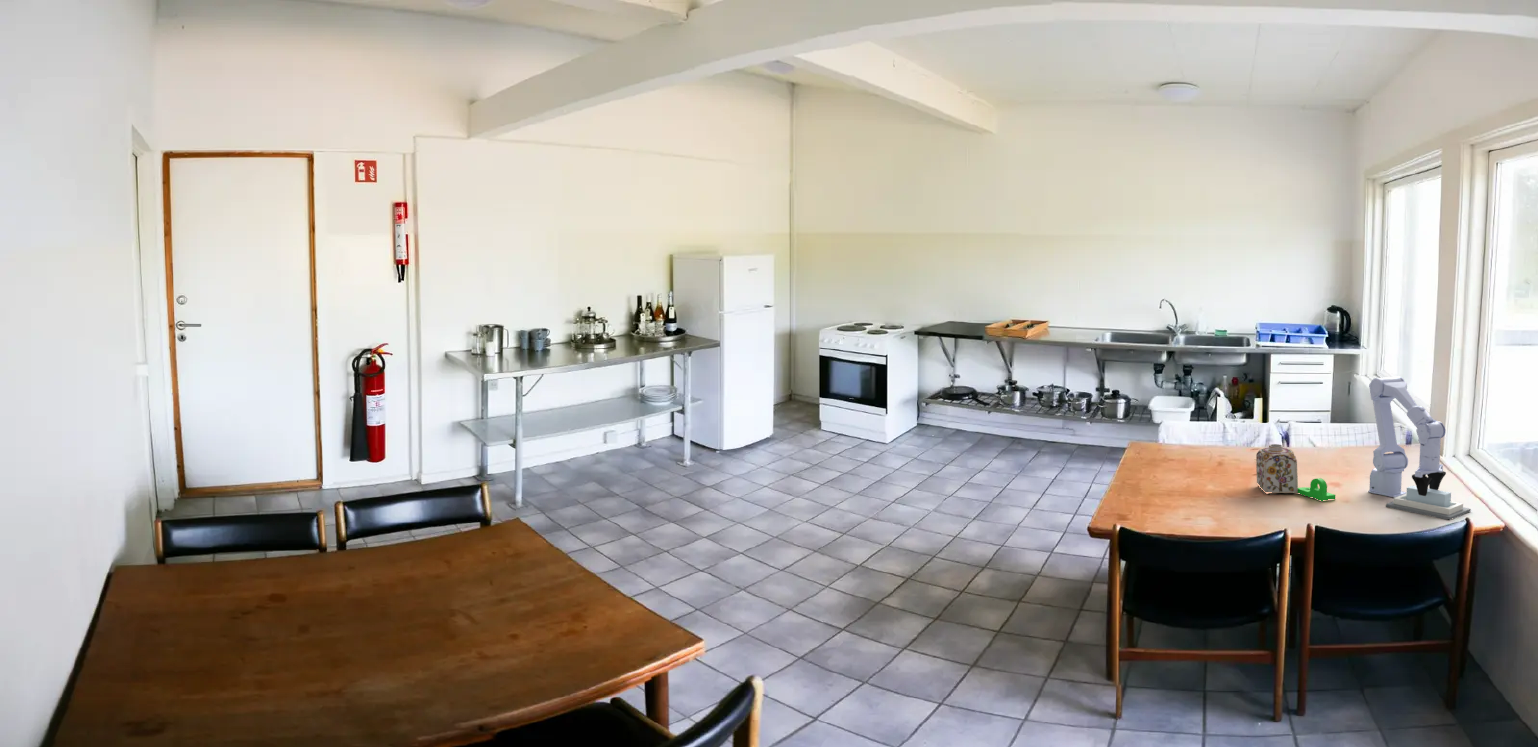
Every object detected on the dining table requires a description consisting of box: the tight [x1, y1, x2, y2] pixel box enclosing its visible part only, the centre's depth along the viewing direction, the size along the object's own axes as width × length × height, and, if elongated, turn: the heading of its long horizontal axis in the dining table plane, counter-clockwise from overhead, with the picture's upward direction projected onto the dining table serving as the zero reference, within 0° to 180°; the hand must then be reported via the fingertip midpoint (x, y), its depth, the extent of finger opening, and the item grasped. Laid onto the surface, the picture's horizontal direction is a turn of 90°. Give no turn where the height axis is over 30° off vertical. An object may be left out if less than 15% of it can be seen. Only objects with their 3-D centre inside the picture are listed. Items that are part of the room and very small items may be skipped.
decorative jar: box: [1255, 443, 1299, 493], centre depth 345 cm, size 12×12×18 cm
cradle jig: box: [1385, 492, 1472, 520], centre depth 314 cm, size 20×14×3 cm
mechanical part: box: [1298, 477, 1336, 502], centre depth 335 cm, size 12×6×8 cm, turn 14°
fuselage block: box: [1406, 485, 1452, 508], centre depth 314 cm, size 12×4×6 cm, turn 28°
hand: (1428, 493), depth 314 cm, fingers open, 7 cm apart
